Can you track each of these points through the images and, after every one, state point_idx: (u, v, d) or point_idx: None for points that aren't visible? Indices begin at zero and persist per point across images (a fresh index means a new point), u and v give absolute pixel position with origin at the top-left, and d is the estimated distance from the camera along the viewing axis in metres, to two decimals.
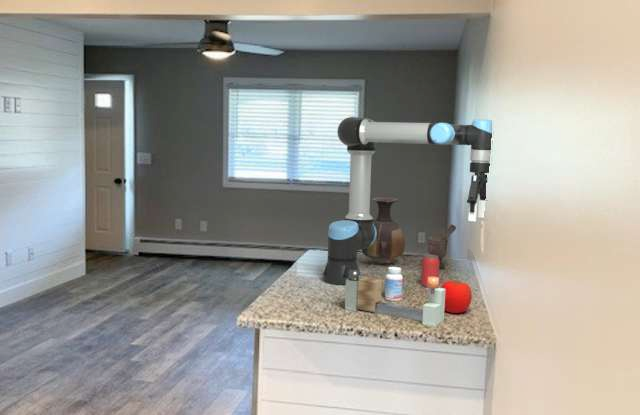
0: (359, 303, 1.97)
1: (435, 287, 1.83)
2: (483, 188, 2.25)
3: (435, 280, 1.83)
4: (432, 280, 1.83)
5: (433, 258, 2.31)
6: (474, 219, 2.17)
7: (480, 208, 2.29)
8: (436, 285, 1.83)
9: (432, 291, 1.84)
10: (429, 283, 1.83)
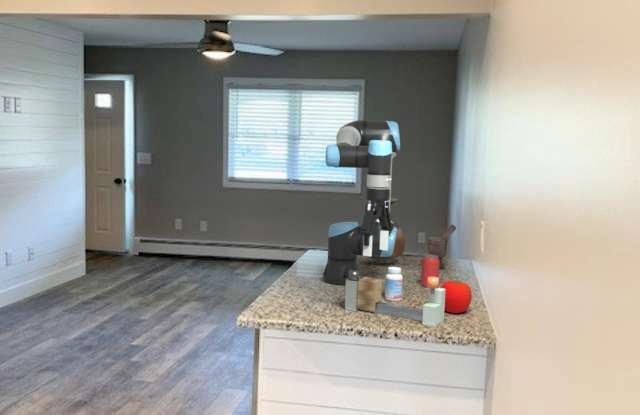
0: (359, 303, 1.97)
1: (435, 287, 1.83)
2: (383, 217, 1.98)
3: (435, 280, 1.83)
4: (432, 280, 1.83)
5: (433, 258, 2.31)
6: (369, 254, 1.90)
7: (382, 239, 2.03)
8: (436, 285, 1.83)
9: (432, 291, 1.84)
10: (429, 283, 1.83)
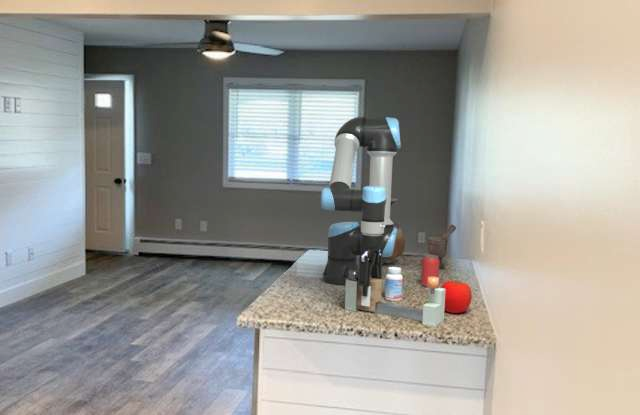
0: (359, 303, 1.97)
1: (435, 287, 1.83)
2: (375, 265, 1.98)
3: (435, 280, 1.83)
4: (432, 280, 1.83)
5: (433, 258, 2.31)
6: (367, 304, 1.95)
7: None
8: (436, 285, 1.83)
9: (432, 291, 1.84)
10: (429, 283, 1.83)
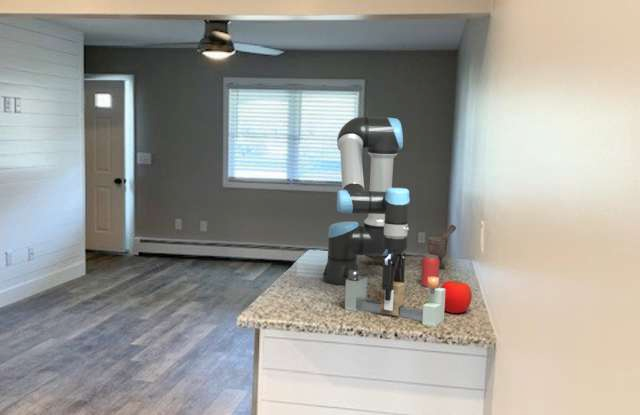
0: (382, 307, 1.93)
1: (435, 287, 1.83)
2: (398, 268, 1.94)
3: (435, 280, 1.83)
4: (432, 280, 1.83)
5: (433, 258, 2.31)
6: (390, 308, 1.91)
7: None
8: (436, 285, 1.83)
9: (432, 291, 1.84)
10: (429, 283, 1.83)
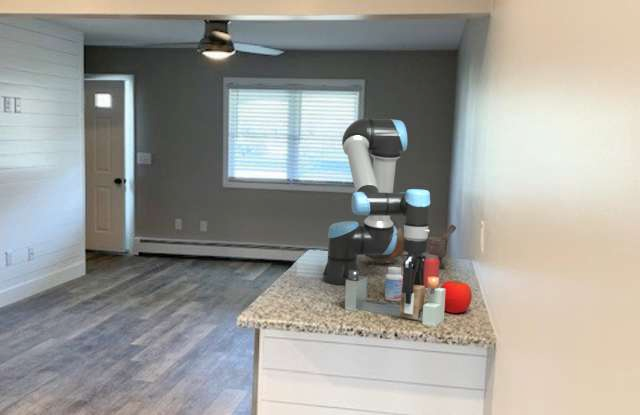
0: (401, 310, 1.90)
1: (435, 287, 1.83)
2: (418, 271, 1.91)
3: (435, 280, 1.83)
4: (432, 280, 1.83)
5: (433, 258, 2.31)
6: (410, 312, 1.87)
7: None
8: (436, 285, 1.83)
9: (432, 291, 1.84)
10: (429, 283, 1.83)
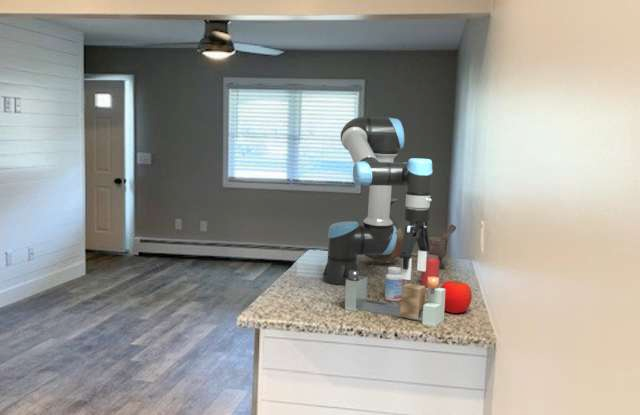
0: (402, 311, 1.90)
1: (435, 287, 1.83)
2: (422, 238, 1.91)
3: (435, 280, 1.83)
4: (432, 280, 1.83)
5: (433, 258, 2.31)
6: (408, 277, 1.83)
7: (419, 260, 1.95)
8: (436, 285, 1.83)
9: (432, 291, 1.84)
10: (429, 283, 1.83)
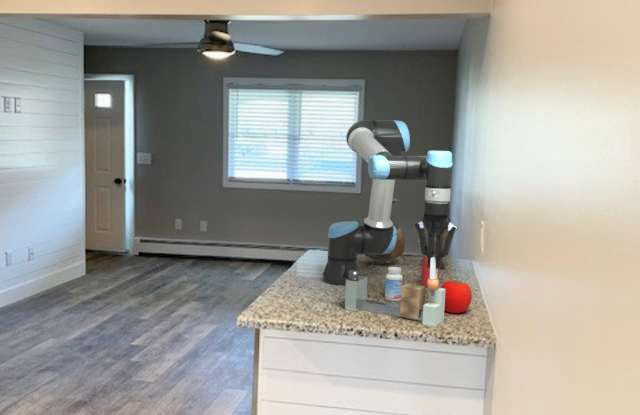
0: (402, 311, 1.90)
1: (435, 289, 1.83)
2: None
3: (435, 282, 1.83)
4: (432, 282, 1.83)
5: None
6: None
7: None
8: (436, 287, 1.83)
9: (432, 293, 1.84)
10: (429, 285, 1.83)
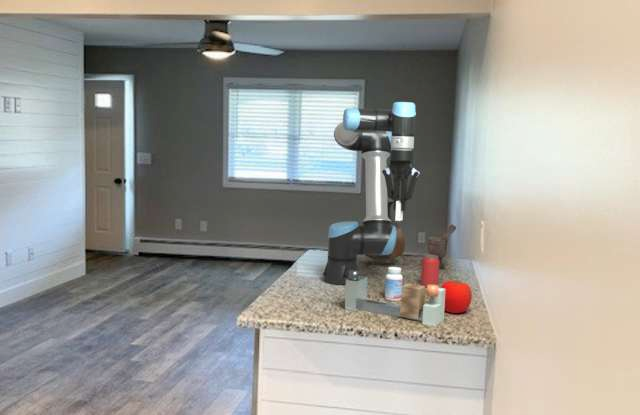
0: (402, 311, 1.90)
1: (435, 295, 1.83)
2: None
3: (435, 288, 1.83)
4: (432, 288, 1.83)
5: (433, 258, 2.31)
6: None
7: None
8: (436, 293, 1.83)
9: (432, 299, 1.84)
10: (429, 291, 1.84)
